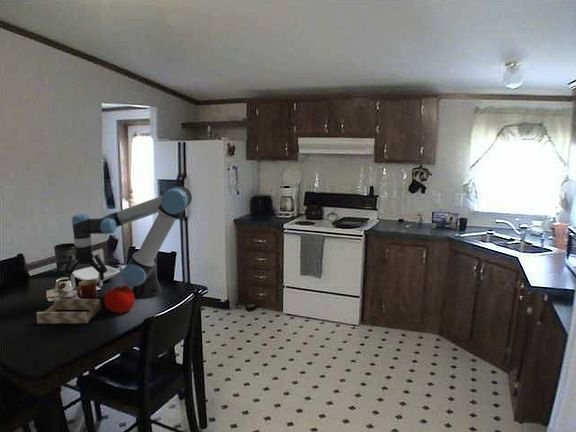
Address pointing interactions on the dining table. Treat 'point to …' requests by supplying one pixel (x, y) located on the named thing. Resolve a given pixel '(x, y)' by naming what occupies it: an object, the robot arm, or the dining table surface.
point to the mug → (87, 289)
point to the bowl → (94, 273)
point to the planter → (64, 255)
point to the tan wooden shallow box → (69, 317)
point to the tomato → (119, 299)
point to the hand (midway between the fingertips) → (87, 286)
